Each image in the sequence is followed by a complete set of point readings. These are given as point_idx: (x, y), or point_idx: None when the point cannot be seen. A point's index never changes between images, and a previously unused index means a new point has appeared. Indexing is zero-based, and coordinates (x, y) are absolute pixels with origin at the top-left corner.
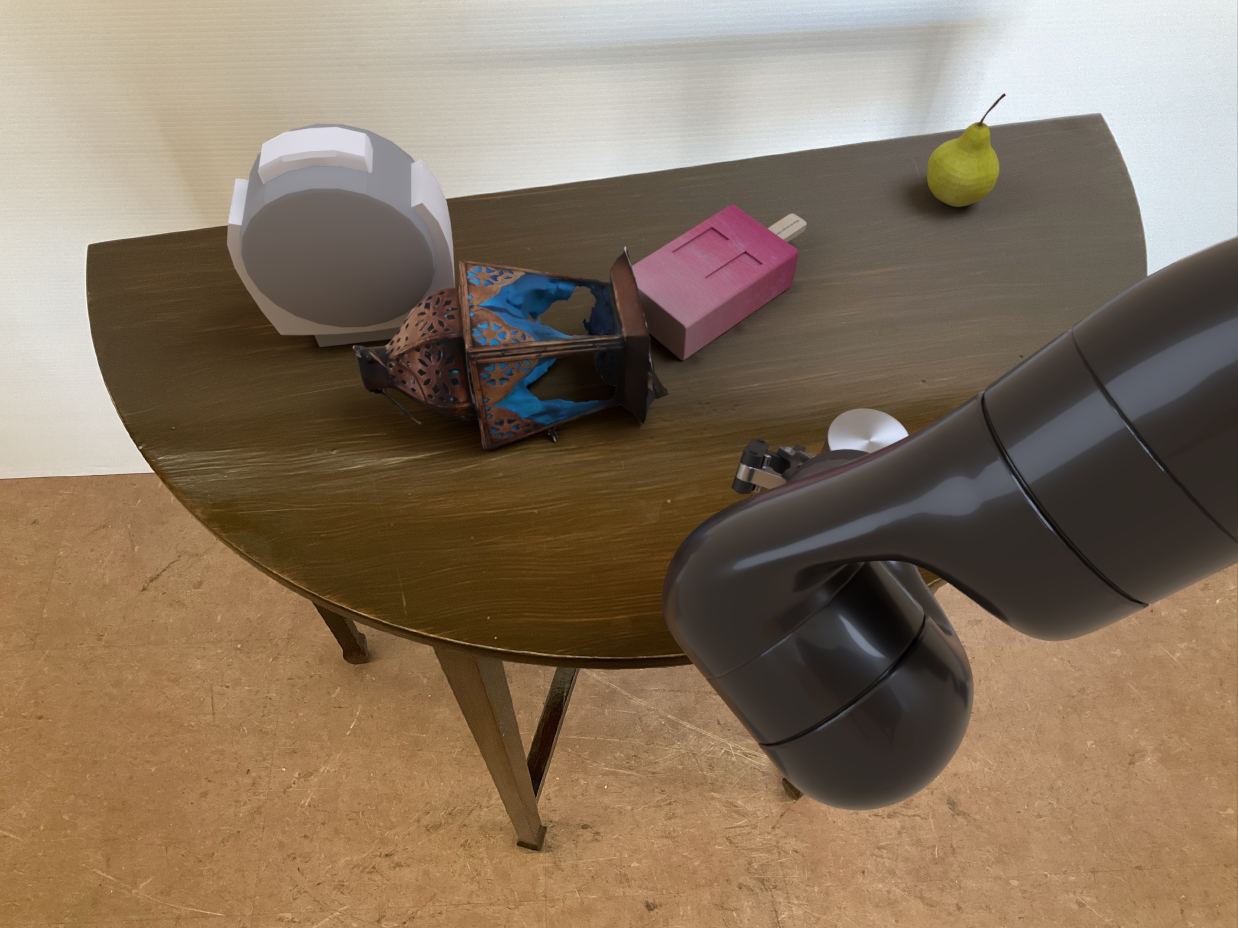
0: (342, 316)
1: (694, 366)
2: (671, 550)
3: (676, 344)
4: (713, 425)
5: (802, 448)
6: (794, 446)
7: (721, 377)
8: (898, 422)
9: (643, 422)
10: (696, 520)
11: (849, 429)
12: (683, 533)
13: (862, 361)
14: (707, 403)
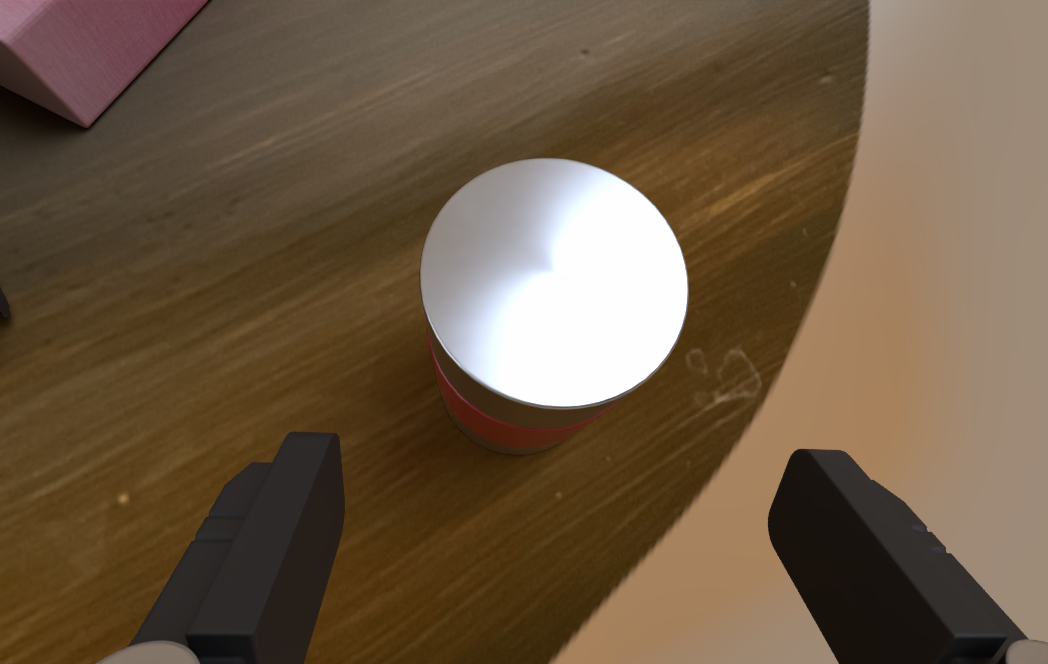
0: None
1: (119, 134)
2: None
3: (40, 93)
4: (193, 264)
5: (303, 479)
6: (255, 496)
7: (188, 144)
8: (621, 181)
9: (3, 316)
10: None
11: (485, 252)
12: None
13: (467, 38)
14: (168, 215)
